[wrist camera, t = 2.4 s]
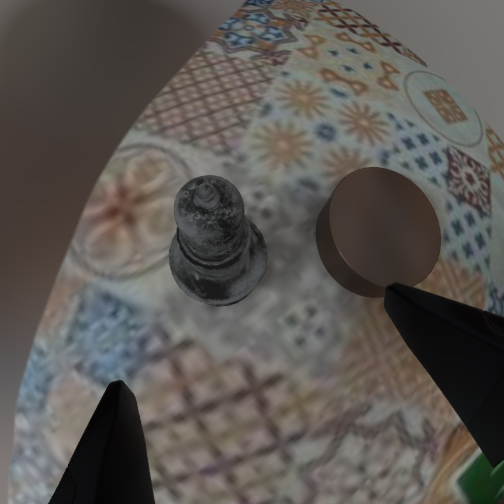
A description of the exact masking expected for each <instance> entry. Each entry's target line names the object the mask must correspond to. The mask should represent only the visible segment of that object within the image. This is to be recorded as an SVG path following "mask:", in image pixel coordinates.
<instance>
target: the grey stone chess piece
mask: <svg viewBox="0 0 504 504" xmlns="http://www.w3.org/2000/svg"><path fill="white" fill-rule="evenodd" d="M174 217H175V221H176V224H177V233H176V234H175V236H174V238H173V240H172V243H171V247H170V250H169V264H170V268H171V272H172V275H173V277H174V279H175V281H176V282H177V284H178V286H179V287H180V288H181V289H182V290H183V291H184V292H185V293H186V294H188V295H189V296H190V297H192V298H194V299H196V300H198V301H200V302H204V303H206V304H209V305H213V306H228V305H232V304H235V303H237V302H239V301H240V300H242V299H244V298H245V297H246V296H247V295H248V294H249V293H251V292H252V290H253V289H254V288H255V287H256V286H257V285H258V284H259V282H260V280H261V278H262V276H263V274H264V272H265V269H266V264H267V247H266V244H265V241H264V238H263V236H262V234H261V232H260V231H259V230H258V228H257V227H256V225H255V224H254V223H252V222H251V221H250V220H249V219H248V218H247V217H246V215H245V214H244V202H243V200H242V197H241V194H240V192H239V191H238V190H237V188H236V187H235V186H234V185H233V184H232V183H231V182H229V181H228V180H226V179H224V178H222V177H219V176H213V175H206V176H200V177H197V178H194V179H192V180H191V181H189V182H187V183H186V184H185V185H184V186H183V187H182V188H181V189H180V191H179V193H178V194H177V196H176V200H175V203H174Z"/></svg>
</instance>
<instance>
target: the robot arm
mask: <svg viewBox="0 0 504 504" xmlns="http://www.w3.org/2000/svg"><path fill="white" fill-rule="evenodd" d="M384 308H385V310H386V312H387V314H388V315H389V317H390V319H391V320H392V322H393V323H394V325H395V327H396V328H397V330H398V332H399V333H400V335H401V336H402V338H403V340H404V341H405V343H406V344H407V346H408V347H409V348H410V350H411V351H412V352H413V354H414V355H415V356H416V358H417V359H418V360H419V362H420V363H421V364H422V366H423V367H424V368H425V370H426V371H427V372H428V374H429V375H430V376H431V378H432V379H433V380H434V382H435V383H436V385H437V386H438V387H439V389H440V390H441V391H442V393H443V394H444V396H445V397H446V398H447V400H448V401H449V403H450V404H451V406H452V407H453V408H454V410H455V411H456V413H457V414H458V416H459V417H460V419H461V420H462V421H463V423H464V424H465V426H466V427H467V429H468V431H469V432H470V434H471V435H472V437H473V438H474V440H475V441H476V443H477V444H478V446H479V447H480V449H481V450H482V452H483V454H484V455H485V457H486V458H487V460H488V461H489V463H490V465H491V466H492V467H493V468H494V467H496V466H497V465H498V464H499V463H501V462H502V461H503V460H504V317H503V316H500V315H496V314H493V313H490V312H487V311H483V310H481V309H478V308H475V307H472V306H469V305H466V304H463V303H460V302H457V301H454V300H451V299H448V298H445V297H442V296H438V295H435V294H432V293H429V292H426V291H423V290H420V289H417V288H414V287H411V286H407V285H404V284H401V283H398V282H394V283H392V284H390V285H388V286H386V288H385V297H384ZM48 504H155V500H154V494H153V489H152V483H151V477H150V471H149V464H148V457H147V450H146V443H145V438H144V433H143V429H142V425H141V420H140V416H139V411H138V406H137V401H136V398H135V396H134V394H133V393H132V391H131V390H130V389H129V388H128V386H127V385H126V384H125V383H124V382H123V381H122V380H118V381H114V382H111V383H110V384H109V385H108V387H107V389H106V391H105V393H104V394H103V396H102V398H101V400H100V402H99V404H98V406H97V408H96V410H95V412H94V413H93V415H92V417H91V419H90V421H89V423H88V425H87V427H86V429H85V431H84V433H83V435H82V437H81V439H80V441H79V443H78V445H77V447H76V449H75V451H74V453H73V455H72V458H71V460H70V462H69V464H68V467H67V468H66V470H65V472H64V474H63V476H62V478H61V480H60V482H59V485H58V487H57V488H56V490H55V492H54V494H53V496H52V498H51V499H50V501H49V503H48ZM499 504H504V499H503V500H502V501H501V502H500V503H499Z"/></svg>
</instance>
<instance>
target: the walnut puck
mask: <svg viewBox="0 0 504 504" xmlns="http://www.w3.org/2000/svg"><path fill="white" fill-rule="evenodd" d="M316 242H317V247H318V251H319V254H320V257H321V259H322V262H323V264H324V265H325V267H326V269H327V270H328V272H329V273H330V274H331V276H332V277H333V278H334V279H335V280H336V281H337V282H338V283H339V284H340V285H342V286H343V287H344V288H346V289H348V290H349V291H351V292H353V293H356V294H358V295H361V296H365V297H384V296H385V288H386V286H388V285H390V284H392V283H394V282H398V283H401V284H404V285H407V286H411V287H412V286H414V285H416V284H418V283H420V282H421V281H422V280H424V279H425V278H426V277H427V276H428V275H429V274H430V272H431V271H432V269H433V268H434V266H435V264H436V262H437V260H438V256H439V253H440V247H441V233H440V226H439V222H438V219H437V216H436V213H435V211H434V209H433V207H432V205H431V203H430V201H429V200H428V198H427V197H426V195H425V194H424V193H423V192H422V191H421V189H420V188H419V187H418V186H417V185H415V184H414V183H413V182H412V181H411V180H409V179H408V178H406V177H405V176H403V175H401V174H399V173H397V172H395V171H392V170H389V169H385V168H379V167H369V168H363V169H359V170H356V171H354V172H352V173H350V174H349V175H347V176H346V177H344V178H343V179H342V180H341V181H340V182H339V184H338V185H337V186H336V188H335V190H334V191H333V193H332V194H331V196H330V198H329V199H328V201H327V203H326V204H325V206H324V207H323V209H322V211H321V213H320V216H319V218H318V222H317V227H316Z"/></svg>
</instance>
